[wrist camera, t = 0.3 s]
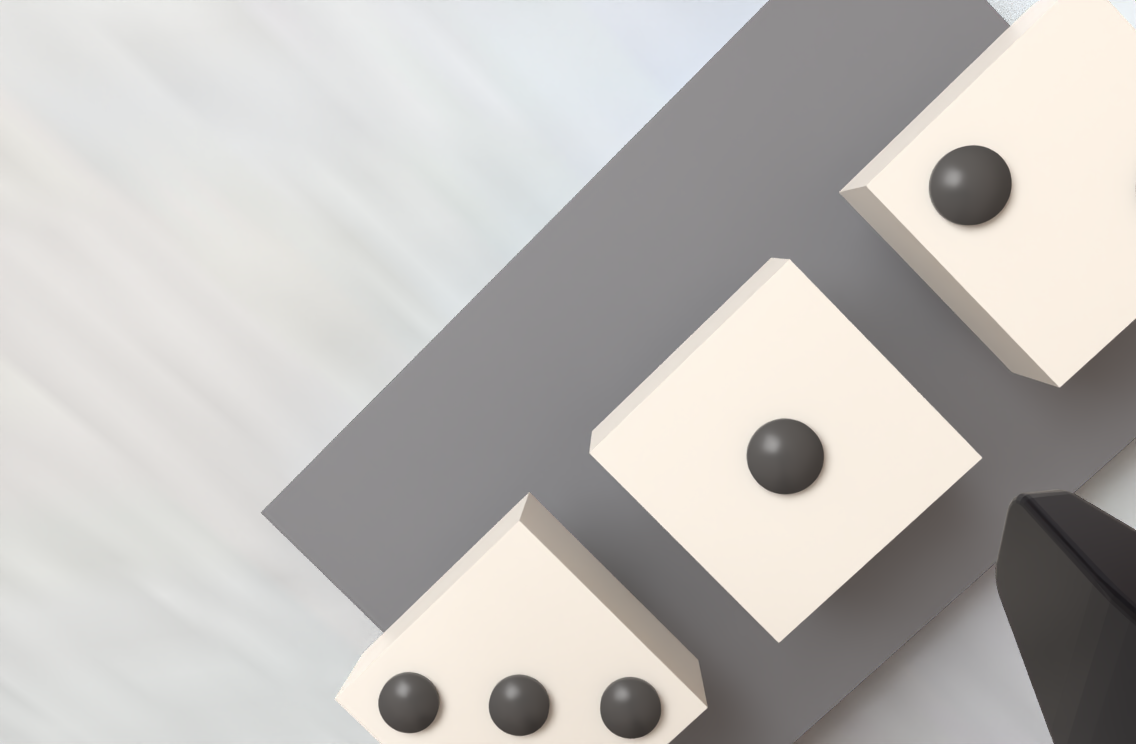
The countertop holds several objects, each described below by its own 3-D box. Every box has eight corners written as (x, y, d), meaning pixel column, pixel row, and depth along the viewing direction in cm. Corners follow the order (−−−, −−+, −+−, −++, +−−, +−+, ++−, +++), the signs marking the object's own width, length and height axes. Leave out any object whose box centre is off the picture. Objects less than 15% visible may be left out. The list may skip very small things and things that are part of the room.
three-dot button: (698, 659, 19) (708, 711, 17) (529, 815, 20) (518, 883, 18) (528, 492, 19) (518, 522, 17) (362, 652, 20) (332, 702, 17)
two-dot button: (1207, 193, 18) (1287, 185, 16) (1011, 372, 18) (1063, 388, 16) (1032, 5, 18) (1089, -29, 16) (838, 192, 18) (868, 185, 16)
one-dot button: (943, 435, 19) (985, 460, 17) (762, 601, 19) (780, 645, 17) (771, 258, 18) (791, 259, 16) (591, 430, 19) (589, 454, 17)
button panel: (1218, 305, 22) (1277, 311, 20) (636, 828, 24) (638, 881, 22) (856, -80, 21) (880, -112, 19) (290, 490, 23) (261, 512, 21)
